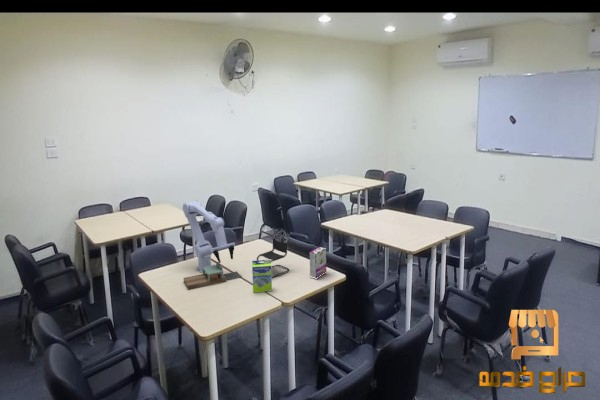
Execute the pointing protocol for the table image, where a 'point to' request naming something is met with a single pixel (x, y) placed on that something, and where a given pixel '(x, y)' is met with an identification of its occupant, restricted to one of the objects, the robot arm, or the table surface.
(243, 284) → the table surface
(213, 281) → the brown flat rectangular frame
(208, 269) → the sliding cover
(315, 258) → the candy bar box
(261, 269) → the box
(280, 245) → the chair
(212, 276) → the terracotta block
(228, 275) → the rubber mat
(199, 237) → the robot arm
